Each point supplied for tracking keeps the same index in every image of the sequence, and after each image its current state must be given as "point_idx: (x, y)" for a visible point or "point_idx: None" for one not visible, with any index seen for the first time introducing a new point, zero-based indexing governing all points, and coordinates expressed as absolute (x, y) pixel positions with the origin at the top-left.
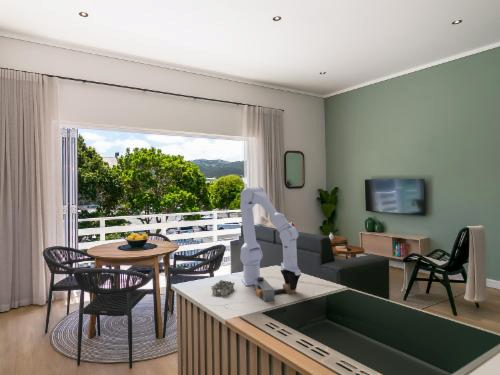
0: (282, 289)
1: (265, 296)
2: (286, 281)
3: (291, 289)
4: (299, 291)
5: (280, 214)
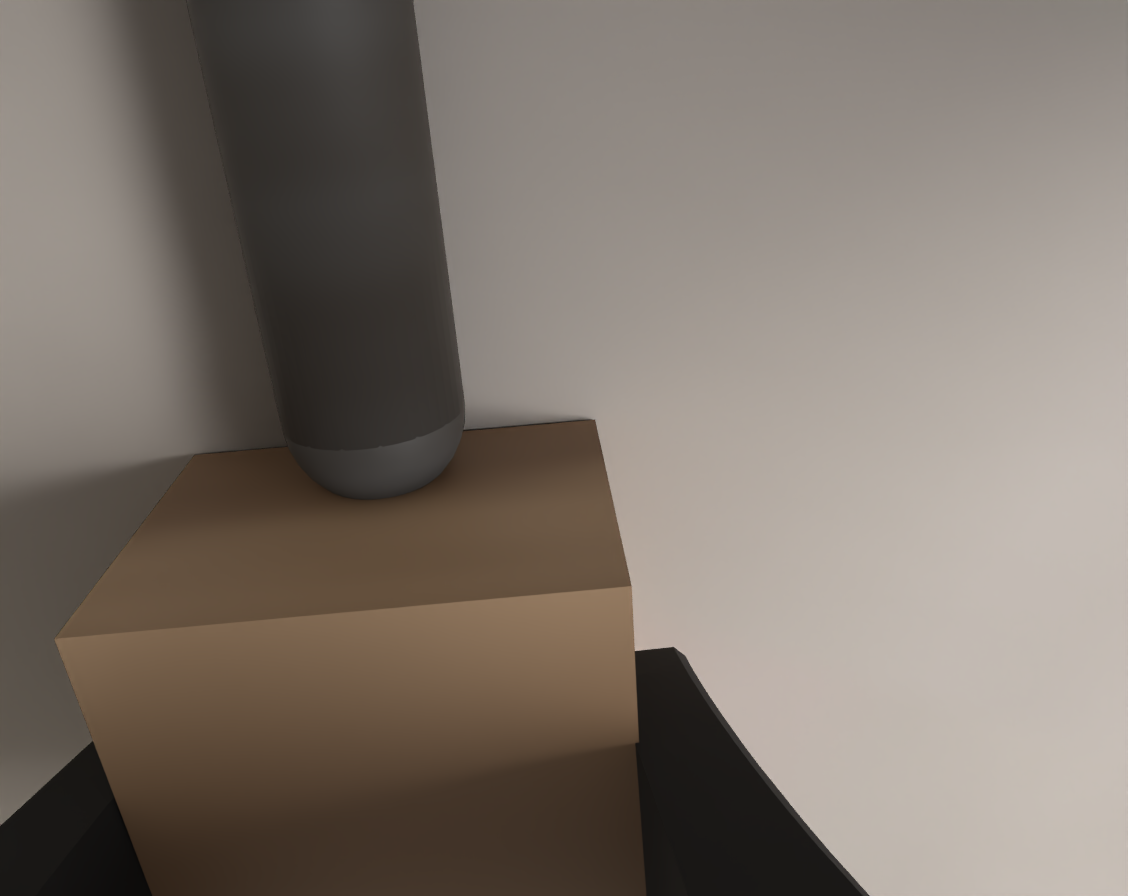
0: (300, 372)
1: None
2: (661, 857)
3: None
4: None
5: None
